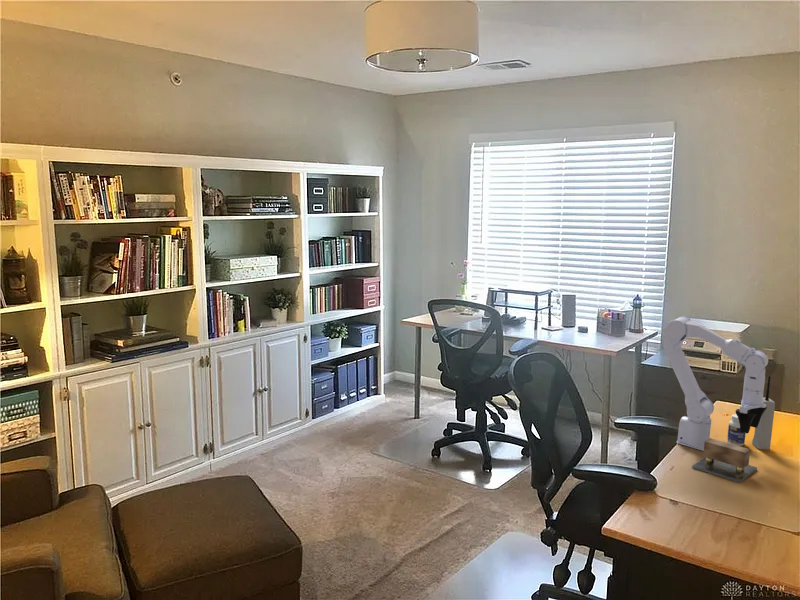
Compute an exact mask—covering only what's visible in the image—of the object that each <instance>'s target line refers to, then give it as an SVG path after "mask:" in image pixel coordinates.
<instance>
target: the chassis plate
mask: <svg viewBox="0 0 800 600" xmlns="http://www.w3.org/2000/svg"><path fill="white" fill-rule="evenodd" d="M691 466H692V467H691V469H694V470H698V471H699V472H703V473H706V472H707V474H709V473H710V474H709V475H713V476H716V477H719V478H723V479H726V480H728V481H731V482H735V483H739V484H740V483H742V482H743V481H744V480H746V479H747V478H748V477H749V476H751V475H753V473H755V472H756V471H757V470H758V467H757V466H753V465H750V464H749V465H748V466H746V467H745V468H740V467H737V466H734V465H730V464H727V463H724V462H720V461H717V460H714V459H710V458H707V457H703V458H702V459H700V460H699V461H697V462H696V463H694V464H693V465H691Z"/></svg>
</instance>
